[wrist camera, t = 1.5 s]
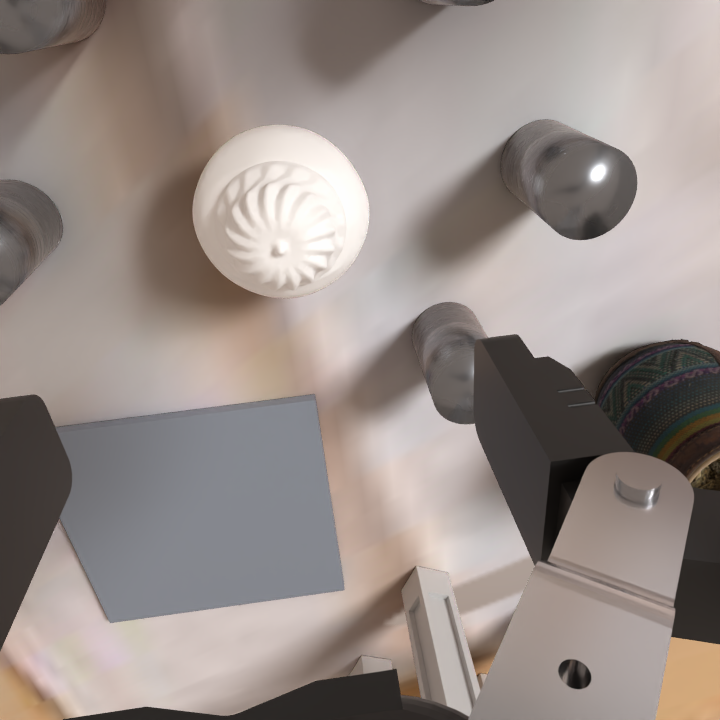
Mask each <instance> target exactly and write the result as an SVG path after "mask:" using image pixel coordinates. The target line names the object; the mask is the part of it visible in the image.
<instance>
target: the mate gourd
mask: <svg viewBox="0 0 720 720" xmlns="http://www.w3.org/2000/svg"><path fill="white" fill-rule="evenodd" d="M595 404H596V405H597V404H598V405H599V407H600V408H601V409H602V410H603V412H604V413H605V414H606V416H607V417H608V418H609V419H610V421H611V422H612V423H613V425H614V426H615V427H616V428H617V430H618V431H619V432H620V434H621V435H622V436H623V438H624V439H625V440H626V441H627V443H628V444H629V445H630V447H631V448H632V449H633V450H634V452H635V453H640V454H645V455H648V456H652V457H655V458H657V459H660V460H662V461H664V462H666V463H668V464H670V465H672V466H673V467H674V468H676V469H677V470H679V471H680V472H681V473H682V474H683V475H684V476H685V477H686V478H687V480H688V481H689V482H690V484H691V486H692V487H694V488H699V489H706V490H716V491H720V352H719V351H717V350H715V349H712V348H710V347H707V346H703V345H702V344H700V343H698V342H692V341H691V342H689V341H688V340H682V339H681V340H676V339H675V340H670V341H664V342H658V343H653V344H650V345H646V346H643V347H641V348H639V349H636V350H634V351H632V352H630V353H629V354H627V355H626V356H624V357H623V358H621V359H620V360H619V361H618V362H617V363H615V364H614V365H613V366H612V367H611V369H610V370H609V371H608V372H607V374H606V375H605V376H604V378H603V380H602V381H601V383H600V385H599V387H598V390H597V393H596V396H595Z"/></svg>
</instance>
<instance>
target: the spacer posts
mask: <svg viewBox="0 0 720 720" xmlns="http://www.w3.org/2000/svg"><path fill="white" fill-rule="evenodd" d="M419 1H421V2H424V3H427V4H433V5H460V6H477V5H483V4H486V3H489V2H492V1H494V0H419ZM105 8H106V0H0V53H3V54H17V53H23V52H28V51H33V50H38V49H43V48H48V47H53V46H58V45H64V44H69V43H74V42H78V41H81V40H84V39H86V38H87V37H89V36H90V35H92V34H93V33H94V32H95V31H96V30H97V28H98V27H99V25H100V24H101V21H102V19H103V16H104V13H105ZM501 175H502V178H503V181H504V183H505V185H506V187H507V188H508V189H509V190H510V191H511V192H512V193H513V194H514V195H515V196H516V197H517V198H519V199H520V200H521V201H522V202H523V203H524V204H525V205H527V206H528V207H529V208H530V209H531V210H532V211H533V212H535V213H536V214H537V215H538V216H539V217H540V218H541V219H543V220H544V221H545V222H546V223H547V224H548V225H549V226H551V227H552V228H553V229H554V230H555V231H556V232H558V233H559V234H560V235H562V236H564V237H566V238H569V239H574V240H587V239H592V238H595V237H598V236H600V235H603V234H605V233H606V232H608V231H610V230H611V229H612V228H614V227H615V226H616V225H617V224H618V223H619V222H620V221H621V220H622V219H623V218H624V217H625V215H626V214H627V213H628V211H629V209H630V208H631V205H632V203H633V201H634V198H635V195H636V190H637V175H636V170H635V167H634V165H633V163H632V161H631V160H630V159H629V157H628V156H627V155H626V154H625V153H623V152H622V151H620V150H619V149H616V148H614V147H612V146H610V145H608V144H605V143H603V142H601V141H599V140H597V139H595V138H592V137H590V136H588V135H586V134H584V133H581V132H579V131H577V130H575V129H573V128H571V127H568V126H566V125H564V124H562V123H560V122H557V121H554V120H548V119H545V120H537V121H534V122H531V123H529V124H527V125H525V126H523V127H522V128H520V129H519V130H518V131H517V132H516V133H515V134H514V135H513V136H512V137H511V138H510V140H509V141H508V143H507V145H506V147H505V149H504V151H503V154H502V158H501ZM62 232H63V225H62V220H61V216H60V214H59V211H58V209H57V208H56V206H55V205H54V203H53V202H52V201H51V199H50V198H49V197H48V196H47V195H46V194H44V193H43V192H42V191H41V190H39V189H38V188H36V187H34V186H32V185H30V184H28V183H25V182H22V181H17V180H1V181H0V305H1V304H3V303H4V302H5V301H6V300H7V299H8V298H9V297H10V295H11V294H12V293H13V292H14V291H15V290H16V289H17V288H18V287H19V286H20V285H21V284H22V283H23V282H24V281H25V280H26V279H27V278H28V277H29V275H30V274H31V273H32V272H33V271H34V270H35V269H36V268H37V267H38V266H39V265H40V264H41V263H42V262H43V261H44V260H45V259H46V258H47V257H48V255H49V254H50V253H51V252H52V251H53V250H54V249H55V248H56V247H57V245H58V244H59V242H60V240H61V237H62ZM483 338H488V337H487V335H486V333H485V332H484V330H483V328H482V327H481V325H480V323H479V321H478V320H477V318H476V316H475V314H474V313H473V312H472V311H471V310H470V309H469V308H467V307H466V306H464V305H462V304H459V303H454V302H445V303H440V304H437V305H434V306H432V307H430V308H428V309H427V310H425V311H424V312H423V313H422V314H421V315H420V316H419V317H418V319H417V320H416V322H415V324H414V326H413V330H412V342H413V345H414V348H415V351H416V354H417V357H418V360H419V362H420V365H421V368H422V371H423V374H424V377H425V379H426V382H427V385H428V388H429V391H430V394H431V396H432V399H433V402H434V405H435V407H436V409H437V411H438V412H439V413H440V414H441V415H442V416H443V417H444V418H445V419H447V420H449V421H451V422H454V423H458V424H474V423H475V420H474V410H473V398H474V347H475V342H476V340H477V339H483Z"/></svg>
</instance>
